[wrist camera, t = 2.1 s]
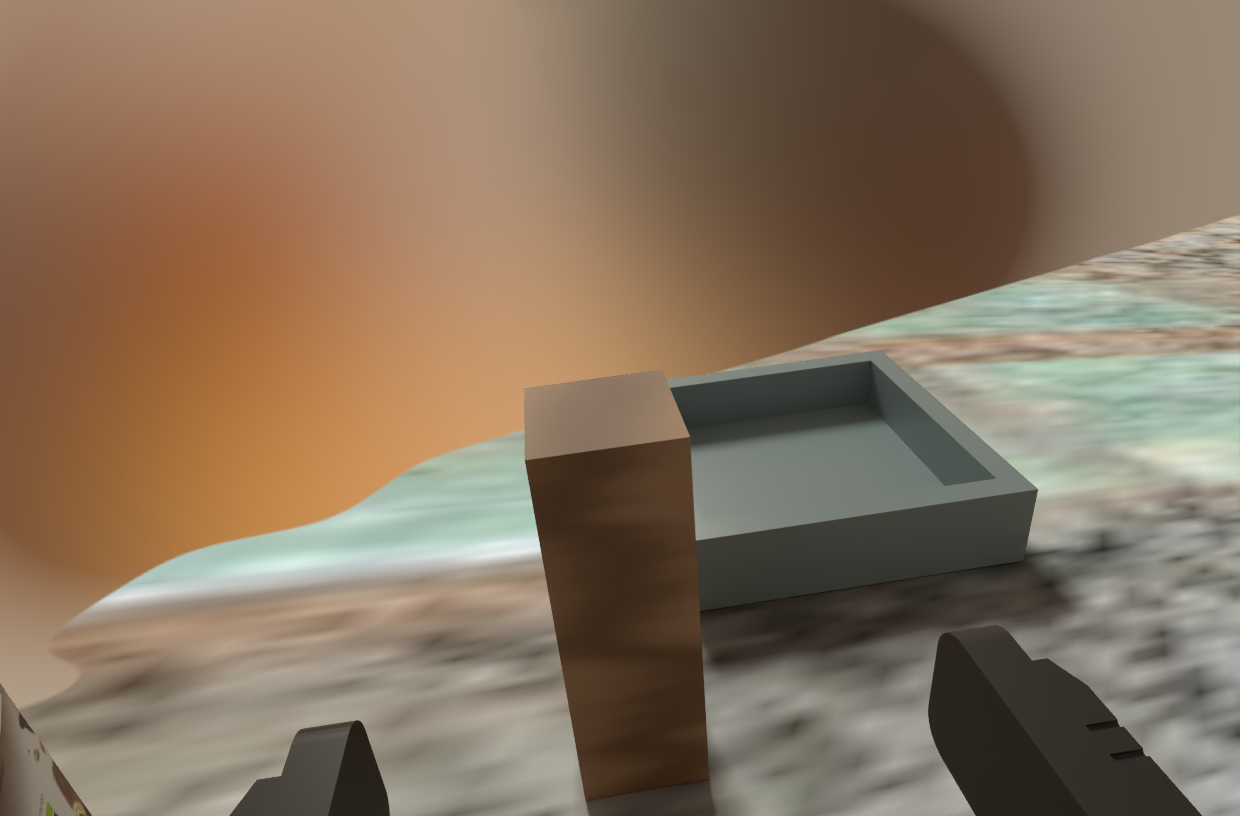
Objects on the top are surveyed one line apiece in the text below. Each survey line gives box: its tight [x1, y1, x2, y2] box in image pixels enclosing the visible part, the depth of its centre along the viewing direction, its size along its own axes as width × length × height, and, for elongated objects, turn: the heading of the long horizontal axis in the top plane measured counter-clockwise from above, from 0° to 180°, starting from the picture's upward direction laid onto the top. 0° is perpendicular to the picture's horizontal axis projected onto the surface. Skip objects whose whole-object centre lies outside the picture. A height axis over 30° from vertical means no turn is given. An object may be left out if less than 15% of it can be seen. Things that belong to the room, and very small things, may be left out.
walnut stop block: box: [524, 370, 709, 800], centre depth 25 cm, size 4×4×14 cm
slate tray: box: [667, 351, 1038, 611], centre depth 40 cm, size 16×16×4 cm
